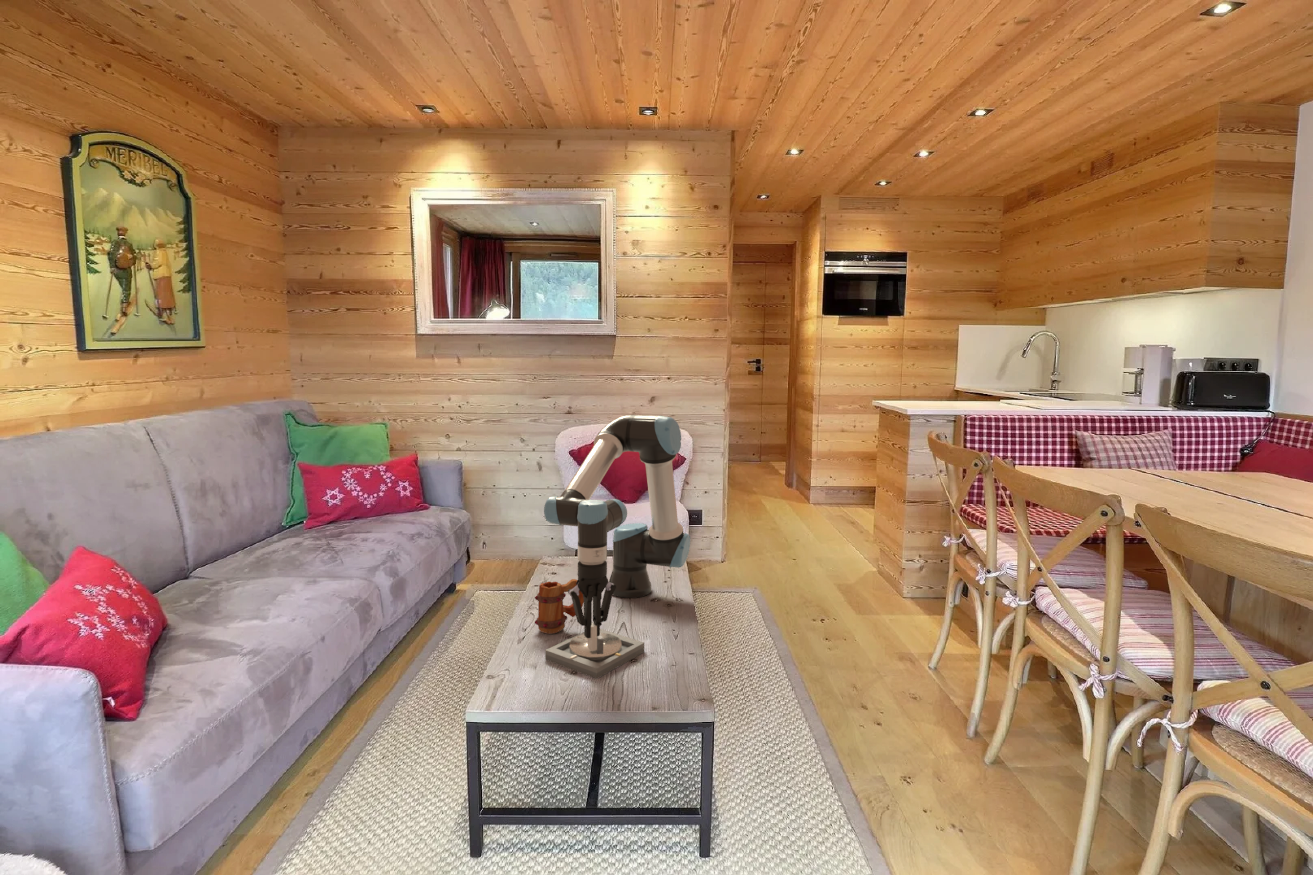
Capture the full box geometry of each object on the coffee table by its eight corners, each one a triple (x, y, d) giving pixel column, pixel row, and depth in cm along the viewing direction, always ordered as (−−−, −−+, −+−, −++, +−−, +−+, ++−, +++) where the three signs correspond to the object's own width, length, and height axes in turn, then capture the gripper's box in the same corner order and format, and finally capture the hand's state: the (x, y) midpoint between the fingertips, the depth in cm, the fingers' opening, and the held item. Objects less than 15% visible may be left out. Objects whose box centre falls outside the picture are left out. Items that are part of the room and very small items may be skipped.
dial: (566, 642, 190) (566, 621, 190) (615, 637, 194) (616, 617, 193) (573, 663, 177) (573, 641, 176) (626, 658, 180) (626, 636, 180)
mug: (536, 637, 197) (535, 587, 195) (533, 627, 205) (533, 578, 203) (586, 633, 201) (586, 583, 199) (582, 622, 209) (582, 574, 207)
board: (594, 635, 199) (594, 625, 198) (644, 651, 188) (644, 641, 188) (545, 659, 183) (545, 648, 182) (596, 678, 172) (596, 667, 172)
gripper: (574, 568, 170) (574, 659, 172) (621, 561, 176) (620, 649, 179) (563, 560, 176) (563, 648, 179) (609, 553, 183) (608, 638, 185)
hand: (592, 648), depth 179 cm, fingers closed
